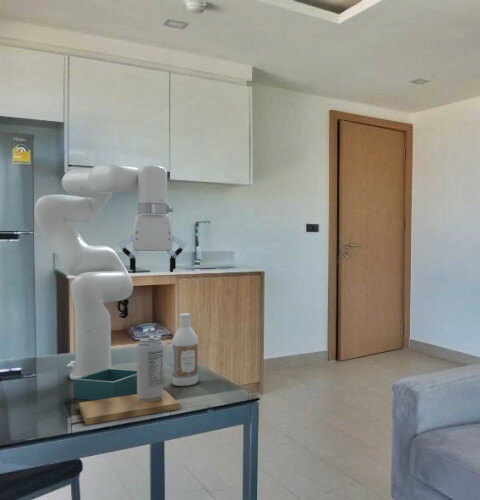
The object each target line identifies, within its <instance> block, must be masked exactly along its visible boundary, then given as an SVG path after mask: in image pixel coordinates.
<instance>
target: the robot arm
mask: <svg viewBox="0 0 480 500" xmlns="http://www.w3.org/2000/svg"><path fill="white" fill-rule="evenodd" d="M61 186H62V188H63V190H64V191H65V192H67V193H68V194H69V195H67V194H46V195H43V196H40V197H39V198H38V199H37V200H36V202H35V205H34V208H33V209H34V211H33V212H34V220H35V223H36V225H37V228H38V229H39V231H40V232H41V233H42V234H41V235H43V236H44V237H45V239H46V240H47V241H48V242H49V244H50V245H51V247H52V248H53V251H54V252H55V254H56V256H57V258H58V259H59V261H60V263H61V265H62V267H63V269H64V270H65V271H66V273H67V274H68V275H70V276H74V278H73V279H72V281H71V284H70V292H71V298H72V301H73V307H74V327H75V328H74V330H75V331H74V333H75V334H74V335H75V337H74V338H75V347H74V348H75V351H74V352H75V353H74V354H75V360H71V361H70V362H69V363H67V364H66V369H72V372H71V373H70V374H69V379H70V380H72V381H73V379H75V378H79V377H82V376H85V375H89V374H92V373H95V372H99V371H102V370H105V369H108V368H113V369H115V368H114V367H112V323H111V319H112V318H111V314H110V312H109V310H108V308H107V307H106V306H105V304H104V303H111V302H119V301H124V300H127V299H128V298H130V296H132V294H133V291H134V283H133V279H132V277H131V275H130V272H129V271H128V270H127V268H126V266H125V265H124V263H123V262H122V260H121V258H120V257H119V255H118V253H117V252H116V251H115V250H114V249H113V248H112V247H109V246H107V245H91V244H88V243H86V242H85V240H84V239H83V237H82V235H81V233H80V232H79V231H78V230H77V229H76V228H74V227H73V226H72V225H70V224H69V223H89V222H90V223H91V222H93V221H94V220H95V219H96V218H97V217H98V216H99V214H100V213H101V211H102V210H103V209H104V207H105V206H106V205H107V203H108V201H109V200H110V198H111V197H112V195H113V193H120V194H131V195H137V207H138V208H137V215H134V220H133V228H132V229H133V230H132V235H131V236H129V237H127V238H124V239H123V240H120V241H119V242H118V246H119V247H120V249H121V250H122V252H123V253H124V254H125V255H126V256H127V257H128V258H129V270H130V271H132V273H133V274H135V273H136V272H137V271H136V268H137V265H136V264H137V263H136V261H137V260H136V255H137V254H138V253H139V252H167V253H168V254H169V255H170V257H169V272H170V273H174V270H176V268H177V267H176V266H177V264H176V263H177V261H176V260H177V259H176V258H177V257H178V256H179V255H180V254H181V253H182V252H183V250H184V248H185V246H186V245H187V242H186V241H184V240H182V239H180V238H178V237H175V236H173V228H172V227H173V226H172V220H171V216H170V215H168V214H169V213H173V212H174V207H172V206H169V205H168V171H167V169H166V168H165V167H163V166H159V165H142V166H140V167H135V166H129V165H128V166H127V165H120V164H99V165H94V166H93V167H91V168H90V167H89V168H88V167H87V168H75V169H71V170H69V171H66V173H65V174H64V175H63V176H62V177H61ZM131 242H132V248H133V249H132V251H130V250H129V249H128V248H127V247H126V245H127V244H129V243H131ZM173 243H176V244H178V245H179V246H178V248H177V249H176V250H175V251H174V250H173V245H174V244H173Z"/></svg>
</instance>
